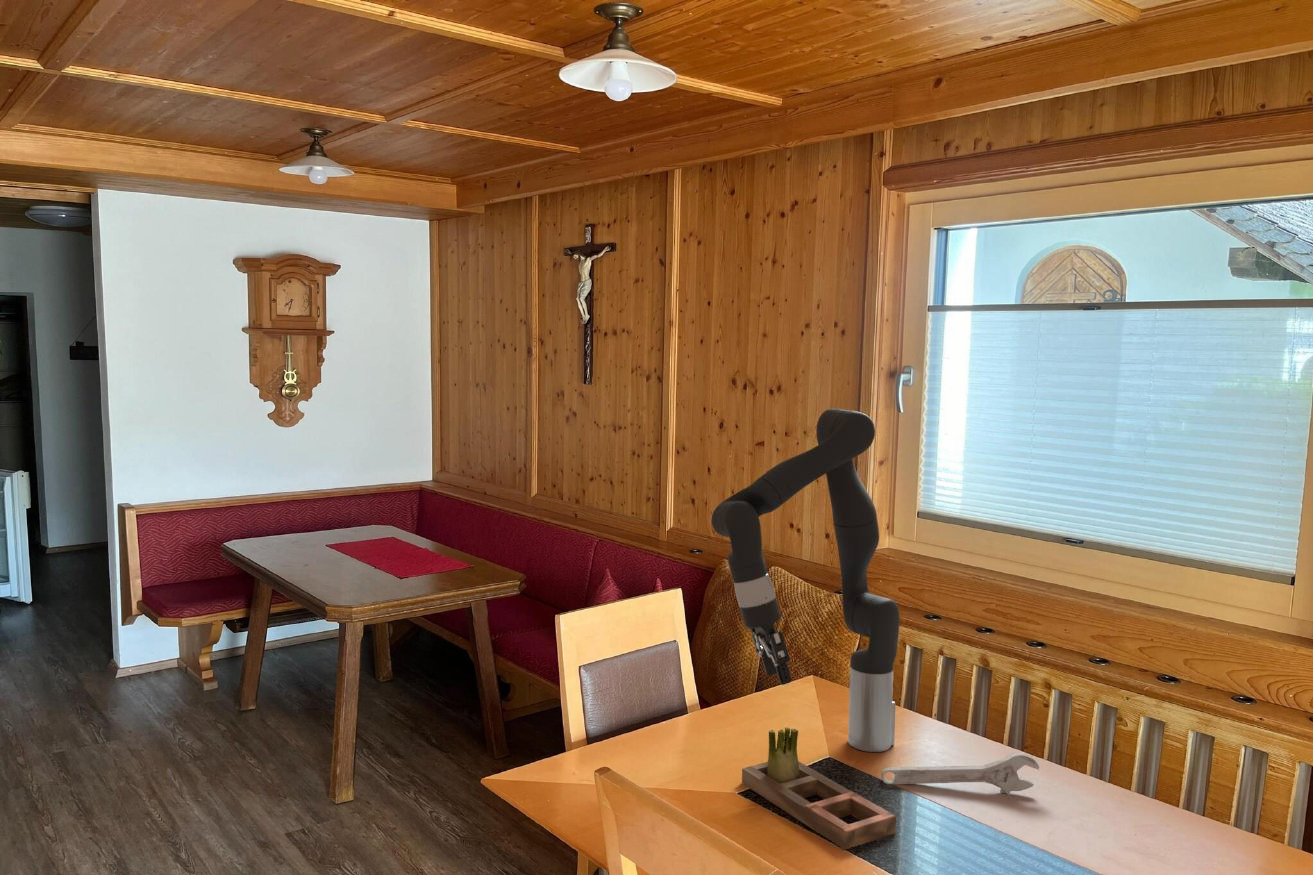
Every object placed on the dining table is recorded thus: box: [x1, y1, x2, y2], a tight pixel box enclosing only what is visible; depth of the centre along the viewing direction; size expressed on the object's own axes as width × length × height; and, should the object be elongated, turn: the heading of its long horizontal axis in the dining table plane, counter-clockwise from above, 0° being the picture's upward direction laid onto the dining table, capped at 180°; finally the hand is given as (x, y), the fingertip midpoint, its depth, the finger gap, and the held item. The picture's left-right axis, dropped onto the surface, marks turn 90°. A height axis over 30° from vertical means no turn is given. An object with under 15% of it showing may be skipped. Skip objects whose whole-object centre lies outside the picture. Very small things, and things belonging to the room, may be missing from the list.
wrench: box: [880, 751, 1040, 796], centre depth 187 cm, size 8×2×30 cm
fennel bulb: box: [767, 726, 799, 784], centre depth 186 cm, size 6×5×12 cm
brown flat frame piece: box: [741, 760, 897, 850], centre depth 179 cm, size 12×30×3 cm, turn 31°
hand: (779, 678), depth 186 cm, fingers open, 8 cm apart
